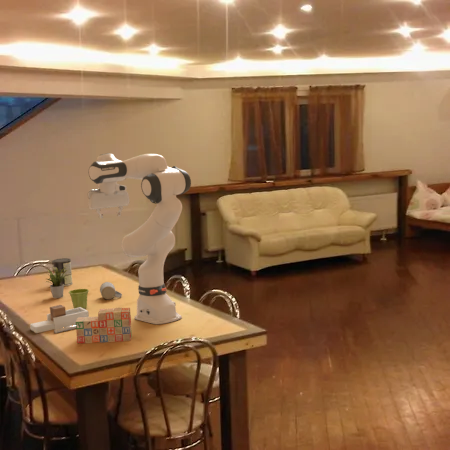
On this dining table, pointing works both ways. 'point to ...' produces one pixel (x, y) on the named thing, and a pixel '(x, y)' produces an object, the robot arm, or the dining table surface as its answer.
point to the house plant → (57, 283)
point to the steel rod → (64, 329)
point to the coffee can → (60, 265)
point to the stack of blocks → (105, 326)
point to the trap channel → (60, 320)
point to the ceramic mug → (109, 291)
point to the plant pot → (79, 297)
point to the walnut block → (57, 311)
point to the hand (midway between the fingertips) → (110, 216)
